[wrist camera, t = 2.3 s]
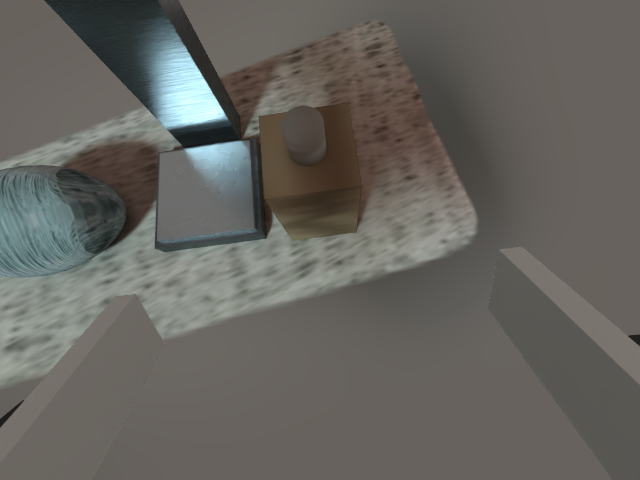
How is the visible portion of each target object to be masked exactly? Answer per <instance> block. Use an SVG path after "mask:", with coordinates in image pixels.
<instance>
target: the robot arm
mask: <svg viewBox="0 0 640 480" xmlns="http://www.w3.org/2000/svg"><path fill="white" fill-rule="evenodd" d="M488 310H489V312H490V313H491V314H492V316H493V317H494V318H495V320H496V321H497V322H498V324H499V325H500V327H501V328H502V329H503V330H504V332H505V333H506V335H507V336H508V338H509V339H510V340H511V342H512V343H513V344H514V346H515V347H516V349H517V350H518V351H519V353H520V354H521V355H522V357H523V358H524V359H525V361H526V362H527V364H528V365H529V366H530V368H531V369H532V370H533V372H534V373H535V375H536V376H537V377H538V379H539V380H540V381H541V383H542V384H543V386H544V387H545V388H546V389H547V391H548V392H549V394H550V395H551V396H552V398H553V399H554V401H555V402H556V403H557V405H558V406H559V407H560V409H561V410H562V412H563V413H564V414H565V415H566V417H567V418H568V420H569V421H570V422H571V424H572V425H573V427H574V428H575V429H576V431H577V432H578V433H579V435H580V436H581V438H582V439H583V440H584V441H585V443H586V444H587V446H588V447H589V449H590V450H591V451H592V453H593V454H594V455H595V457H596V458H597V459H598V461H599V462H600V463H601V465H602V466H603V468H604V469H605V470H606V472H607V473H608V475H609V476H610V477H611V479H612V480H640V335H631V336H627V335H626V334H624V333H623V332H622V331H621V330H620V329H619V328H617V327H616V326H615V325H614V324H613V323H611V322H610V321H609V320H608V319H607V318H606V317H604V316H603V315H602V314H601V313H600V312H598V311H597V310H596V309H595V308H594V307H592V306H591V305H590V304H589V303H588V302H586V301H585V300H584V299H583V298H582V297H581V296H579V295H578V294H577V293H576V292H575V291H574V290H572V289H571V288H570V287H569V286H568V285H566V284H565V283H564V282H563V281H562V280H560V279H559V278H558V277H557V276H556V275H555V274H553V273H552V272H551V271H550V270H549V269H548V268H546V267H545V266H544V265H543V264H542V263H540V262H539V261H538V260H537V259H536V258H535V257H533V256H532V255H531V254H530V253H529V252H527V251H526V250H525V249H524V248H522V247H516V248H508V249H500V250H499V252H498V257H497V263H496V268H495V273H494V278H493V283H492V288H491V293H490V299H489V303H488ZM164 347H165V344H164V342H163V340H162V338H161V337H160V335H159V333H158V331H157V330H156V328H155V326H154V325H153V323H152V321H151V319H150V318H149V316H148V314H147V313H146V311H145V309H144V307H143V306H142V304H141V302H140V301H139V299H138V297H137V295H136V294H132V295H124V296H116V297H115V298H114V299H113V300H112V302H111V303H110V304H109V305H108V306H107V307H106V308H105V310H104V311H103V312H102V313H101V314H100V315H99V316H98V317H97V319H96V320H95V321H94V322H93V323H92V324H91V325H90V327H89V328H88V329H87V330H86V331H85V332H84V333H83V335H82V336H81V337H80V338H79V339H78V340H77V341H76V342H75V344H74V345H73V346H72V347H71V348H70V349H69V350H68V352H67V353H66V354H65V355H64V356H63V357H62V358H61V360H60V361H59V362H58V363H57V364H56V365H55V366H54V367H53V369H52V370H51V371H50V372H49V373H48V374H47V375H46V377H45V378H44V379H43V380H42V381H41V382H40V383H39V385H38V386H37V387H36V388H35V389H34V390H33V391H32V392H31V394H30V395H29V396H28V397H27V398H26V399H25V400H23V401H22V402H20V403H19V404H18V405H17V406H15V407H14V408H13V409H12V410H11V411H9V412H8V413H7V414H6V415H5V416H3V417H2V418H1V419H0V480H92V479H93V477H94V475H95V473H96V472H97V470H98V468H99V466H100V464H101V462H102V460H103V459H104V457H105V455H106V453H107V451H108V449H109V448H110V446H111V444H112V442H113V440H114V438H115V437H116V435H117V433H118V431H119V429H120V427H121V426H122V424H123V422H124V420H125V418H126V416H127V415H128V413H129V411H130V409H131V407H132V405H133V404H134V402H135V400H136V398H137V396H138V394H139V393H140V391H141V389H142V387H143V385H144V383H145V381H146V380H147V378H148V376H149V374H150V372H151V370H152V368H153V367H154V365H155V363H156V361H157V359H158V358H159V356H160V354H161V352H162V350H163V348H164Z"/></svg>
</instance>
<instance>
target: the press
mask: <svg viewBox="0 0 640 480" xmlns="http://www.w3.org/2000/svg"><path fill="white" fill-rule="evenodd" d="M45 2H47V4H48V5H50V7H51V8H52V9H53V10H54V11H55V12H56V13H57V14H58V15H59V16H60V17H61V18H62V19H63V20H64V21H65V23H66V24H67V25H68V26H70V28H71V29H72V30H73V31H74V32H75V33H76V34H77V35H78V36H79V37H80V38H81V39H82V40H83V41H84V43H85V44H86V45H87V46H88V47H89V48H90V49H91V50H92V51H93V52H94V53H95V54H96V55H97V56H98V57H99V58H100V59H101V60H102V62H104V64H106V66H107V67H108V68H109V69H110V70H111V71H112V72H113V73H114V74H115V75H116V76H117V77H118V78H119V79H120V80H121V82H122V83H123V84H124V85H125V86H126V87H127V88H128V89H129V90H130V91H131V92H132V93H133V94H134V95H135V96H136V97H137V98H138V99H139V100H140V101H141V103H142V104H143V105H144V106H145V107H146V108H147V109H148V110H149V111H150V112H151V113H152V114H153V115H154V116H155V117H156V118H157V119H158V120H159V122H160V123H161V124H162V125H163V126H164V127H165V128H166V129H167V130H168V131H169V132H170V133H171V134H172V135H173V136H174V137H175V138H176V139H177V140H178V142H179V143H180V144H181V145H182V146H183V147H184V148H185V149H178V150H171V151H165V152H159V154H158V179H157V205H156V231H155V249H158V250H161V251H163V252H168V251H176V250H183V249H191V248H198V247H206V246H214V245H221V244H229V243H237V242H244V241H252V240H260V239H266V231H265V215H264V200H263V184H262V169H261V153H260V145H259V143H258V141H257V139H256V138H252V139H245V140H241V133H240V116H239V114H238V112H237V110H236V108H235V107H234V105H233V103H232V101H231V99H230V97H229V95H228V93H227V91H226V90H225V88H224V86H223V84H222V82H221V80H220V78H219V76H218V74H217V72H216V71H215V69H214V67H213V65H212V63H211V61H210V59H209V57H208V55H207V54H206V52H205V50H204V48H203V46H202V44H201V42H200V40H199V38H198V36H197V34H196V33H195V31H194V29H193V27H192V25H191V23H190V21H189V19H188V17H187V15H186V14H185V12H184V10H183V8H182V6H181V4H180V2H179V0H45Z"/></svg>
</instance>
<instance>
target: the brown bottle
mask: <svg viewBox="0 0 640 480" xmlns="http://www.w3.org/2000/svg"><path fill="white" fill-rule="evenodd" d="M259 128H260V143H261V158H262V174H263V189H264V200H265V201H266V203H267V204H268V206H269V207H270V208H271V210H272V211H273V213H274V214H275V216H276V217H277V219H278V220H279V222H280V223H281V224H282V226H283V227H284V229H285V230H286V232H287V233H288V235H289V236H290V238H291V239H292V240H300V239H308V238H316V237H323V236H331V235H339V234H346V233H354V232H356V229H357V221H358V212H359V204H360V196H361V188H362V184H361V178H360V172H359V166H358V159H357V153H356V147H355V141H354V135H353V129H352V122H351V116H350V110H349V104H348V103H342V104H336V105H329V106H323V107H316V108H312V107H309V106H298V107H295V108H293V109H291V110H289V111H288V112H284V113H277V114H271V115H264V116H259Z"/></svg>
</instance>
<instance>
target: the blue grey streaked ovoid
mask: <svg viewBox="0 0 640 480" xmlns="http://www.w3.org/2000/svg"><path fill="white" fill-rule="evenodd" d="M125 219H126V208H125V205H124V202H123V200H122V198H121V197H120V196H119V194H118V193H117V192H116V191H115V190H114V189H112V188H111V187H110V186H109V185H107V184H106V183H104V182H102V181H100V180H98V179H96V178H94V177H92V176H89V175H87V174H84V173H82V172H79V171H76V170H72V169H68V168H63V167H57V166H46V165H39V166H19V167H15V168H8V169H3V170H0V276H1V277H18V278H22V277H36V276H45V275H51V274H55V273H59V272H62V271H66V270H69V269H71V268H73V267H76V266H78V265H80V264H83V263H85V262H87V261H89V260H91V259H92V258H93V257H95V256H97V255H98V254H100V253H101V252H102V251H103V250H104V249H106V248H107V247H108V246H109V245H110V244H111V243H112V242H113V240H114V239H115V238H116V237H117V236H118V235H119V233H120V232H121V230H122V229H123V226H124V223H125Z"/></svg>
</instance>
